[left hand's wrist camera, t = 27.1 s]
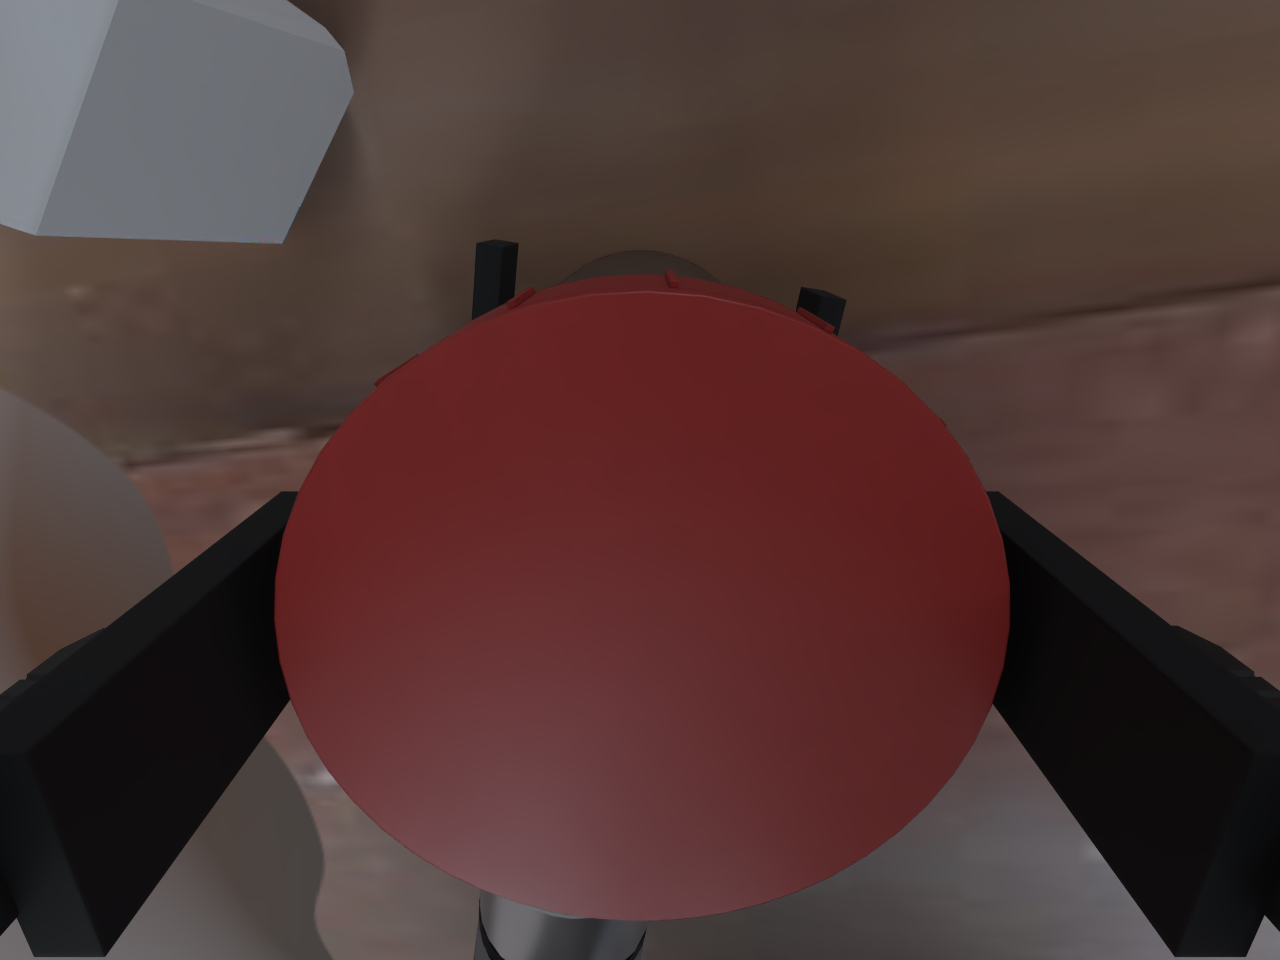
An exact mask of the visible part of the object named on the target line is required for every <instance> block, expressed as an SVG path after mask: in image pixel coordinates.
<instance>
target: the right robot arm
mask: <svg viewBox="0 0 1280 960" xmlns="http://www.w3.org/2000/svg"><path fill="white" fill-rule="evenodd" d="M517 256H518V243H514V242H508V241H501V240H490V241H484V242H479V243H477V245H476V261H475V277H474V293H473V310H472V320H474V319H476V318H478V317H480V316H482V315H484V314H486V313H488V312H490V311H491V310H493V309H495V308H497V307H499V306H501V305H503V304H505V303H506V302H507V301H509V300H510V299H512V298H513V297H514V292H515V280H516V268H517ZM845 303H846V300H845V299H843V298H840V297H838V296H835V295H833V294H831V293H828V292H826V291H824V290H817V289H811V288H804V287H801V290H800V295H799V299H798V304H797V308H796V312H797V310H798V308H799V307H801V308H803V309H805V310H806V311H808V312H810V313H811V314H813V315H815V316H816V317H818V318H820V319H822V320H823V321H825V322H827V323H828V324H830V325H832V326H833V327H835V329H834V330H833V332H832V333H833V334H835V335H836V336H838V332H839V328H840V324H841V320H842V315H843V311H844V307H845ZM647 924H648V921H627V920H609V919H596V918H589V917H582V916H575V915H569V914H562V913H557V912H553V911H549V910H545V909H541V908H537V907H533V906H528V905H524V904H520V903H518V902H515V901H512V900H509V899H506V898H503V897H501V896H498V895H495V894H492V893H489V892H486V891H484V890H481V892H480V900H479V922H478V929H477V937H476V944H475V952H474V960H640V957H641V951H642V946H643V941H644V937H645V933H646V929H647Z"/></svg>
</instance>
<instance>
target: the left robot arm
mask: <svg viewBox="0 0 1280 960" xmlns="http://www.w3.org/2000/svg"><path fill="white" fill-rule="evenodd" d="M986 493H987V495H988V497H989V500H990V503H991V506H992V509H993V512H994V515H995V518H996V521H997V524H998V527H999V530H1000V533H1001V536H1002V539H1003V544H1004V550H1005V557H1006V563H1007V569H1008V575H1009V582H1010V629H1009V636H1008V642H1007V649H1006V655H1005V662H1004V668H1003V671H1002V674H1001V677H1000V681H999V684H998V687H997V690H996V693H995V697H994V700H993V705H994V706H995V707H996V709H997V710H998V712H999V713H1000V714H1001V716H1002V717H1003V719H1004V720H1005V721H1006V723H1007V724H1008V725H1009V727H1010V728H1011V730H1012V731H1013V732H1014V734H1015V735H1016V737H1017V738H1018V739H1019V741H1020V742H1021V744H1022V745H1023V746H1024V748H1025V749H1026V751H1027V752H1028V753H1029V755H1030V756H1031V757H1032V759H1033V760H1034V762H1035V763H1036V764H1037V766H1038V767H1039V769H1040V770H1041V771H1042V773H1043V774H1044V776H1045V777H1046V778H1047V780H1048V781H1049V782H1050V784H1051V785H1052V787H1053V788H1054V789H1055V791H1056V792H1057V794H1058V795H1059V796H1060V798H1061V799H1062V801H1063V802H1064V803H1065V805H1066V806H1067V808H1068V809H1069V810H1070V812H1071V813H1072V814H1073V816H1074V817H1075V819H1076V820H1077V821H1078V823H1079V824H1080V826H1081V827H1082V828H1083V830H1084V831H1085V833H1086V834H1087V835H1088V837H1089V838H1090V840H1091V841H1092V842H1093V844H1094V845H1095V846H1096V848H1097V849H1098V851H1099V852H1100V853H1101V855H1102V856H1103V858H1104V859H1105V860H1106V862H1107V863H1108V865H1109V866H1110V867H1111V869H1112V870H1113V871H1114V873H1115V874H1116V876H1117V877H1118V878H1119V880H1120V881H1121V883H1122V884H1123V885H1124V887H1125V888H1126V890H1127V891H1128V892H1129V894H1130V895H1131V897H1132V898H1133V899H1134V901H1135V902H1136V903H1137V905H1138V906H1139V908H1140V909H1141V910H1142V912H1143V913H1144V915H1145V916H1146V917H1147V919H1148V920H1149V922H1150V923H1151V924H1152V926H1153V927H1154V928H1155V930H1156V931H1157V933H1158V934H1159V935H1160V937H1161V938H1162V940H1163V941H1164V942H1165V944H1166V945H1167V947H1168V948H1169V949H1170V951H1171V952H1172V954H1173V955H1174V956H1175V957H1246V955H1247V953H1248V951H1249V949H1250V946H1251V944H1252V942H1253V940H1254V937H1255V935H1256V933H1257V931H1258V928H1259V926H1260V924H1261V922H1262V920H1263V917H1264V915H1265V916H1266V917H1267V918H1268V919H1269V920H1270V921H1271V922H1272V924H1273V925H1274V926H1275V927H1276V928H1277V929H1278V930H1279V931H1280V691H1279V690H1278V689H1276V688H1275V687H1274V686H1272V685H1271V684H1270V683H1268V682H1267V681H1266V680H1264V679H1263V678H1262V677H1255V676H1254V671H1252V670H1251V669H1250V668H1248V667H1247V666H1246V665H1244V664H1243V663H1242V662H1240V661H1239V660H1238V659H1236V658H1235V657H1234V656H1232V655H1231V654H1229V653H1228V652H1227V651H1225V650H1224V649H1223V648H1221V647H1220V646H1218V645H1216V644H1214V643H1212V642H1210V641H1208V640H1206V639H1204V638H1202V637H1200V636H1198V635H1195V634H1193V633H1191V632H1189V631H1187V630H1185V629H1183V628H1181V627H1179V626H1171V625H1170V624H1168V623H1167V622H1166V621H1164V620H1163V619H1162V618H1161V617H1159V616H1158V615H1157V614H1155V613H1154V612H1153V611H1152V610H1150V609H1149V608H1148V607H1146V606H1145V605H1144V604H1143V603H1141V602H1140V601H1139V600H1137V599H1136V598H1135V597H1134V596H1132V595H1131V594H1130V593H1128V592H1127V591H1126V590H1125V589H1123V588H1122V587H1121V586H1119V585H1118V584H1117V583H1116V582H1114V581H1113V580H1112V579H1110V578H1109V577H1108V576H1107V575H1105V574H1104V573H1103V572H1101V571H1100V570H1099V569H1098V568H1096V567H1095V566H1094V565H1092V564H1091V563H1090V562H1089V561H1087V560H1086V559H1085V558H1083V557H1082V556H1081V555H1079V554H1078V553H1077V552H1076V551H1074V550H1073V549H1072V548H1070V547H1069V546H1068V545H1067V544H1065V543H1064V542H1063V541H1061V540H1060V539H1059V538H1058V537H1056V536H1055V535H1054V534H1052V533H1051V532H1050V531H1049V530H1047V529H1046V528H1045V527H1043V526H1042V525H1041V524H1040V523H1038V522H1037V521H1036V520H1034V519H1033V518H1032V517H1031V516H1029V515H1028V514H1027V513H1025V512H1024V511H1023V510H1022V509H1020V508H1019V507H1018V506H1016V505H1015V504H1014V503H1013V502H1011V501H1010V500H1009V499H1007V498H1006V497H1005V496H1004V495H1002V494H1001V493H1000V492H986ZM297 495H298V492H280V493H279V494H278V495H276V496H275V497H274V498H273V499H271V500H270V501H269V502H267V503H266V504H265V505H264V506H262V507H261V508H260V509H258V510H257V511H256V512H255V513H253V514H252V515H251V516H249V517H248V518H247V519H246V520H244V521H243V522H242V523H240V524H239V525H238V526H237V527H235V528H234V529H233V530H231V531H230V532H229V533H228V534H226V535H225V536H224V537H222V538H221V539H220V540H219V541H217V542H216V543H215V544H213V545H212V546H211V547H210V548H208V549H207V550H206V551H204V552H203V553H202V554H200V555H199V556H198V557H197V558H195V559H194V560H193V561H191V562H190V563H189V564H188V565H186V566H185V567H184V568H182V569H181V570H180V571H179V572H177V573H176V574H175V575H173V576H172V577H171V578H170V579H168V580H167V581H166V582H164V583H163V584H162V585H161V586H159V587H158V588H157V589H155V590H154V591H153V592H152V593H150V594H149V595H148V596H146V597H145V598H144V599H143V600H141V601H140V602H139V603H137V604H136V605H135V606H134V607H132V608H131V609H130V610H128V611H127V612H126V613H125V614H123V615H122V616H121V617H119V618H118V619H117V620H116V621H114V622H113V623H112V624H110V625H109V626H108V627H106V628H103V629H101V630H99V631H97V632H95V633H93V634H91V635H88V636H87V637H85V638H82V639H80V640H78V641H76V642H74V643H72V644H70V645H68V646H66V647H64V648H62V649H60V650H59V651H58V652H56V653H55V654H54V655H52V656H51V657H50V658H48V659H47V660H46V661H44V662H43V663H42V664H40V665H39V666H38V667H36V668H35V669H34V670H32V671H31V672H30V673H28V674H27V678H26V680H19V681H18V682H16V683H15V684H14V685H12V686H11V687H10V688H8V689H7V690H6V691H4V692H3V693H2V694H0V936H1V935H2V933H3V932H4V931H5V930H6V929H7V928H8V927H9V926H10V924H11V923H12V922H13V921H14V920H15V919H16V918H17V920H18V922H19V924H20V926H21V928H22V931H23V933H24V935H25V937H26V940H27V942H28V944H29V946H30V949H31V951H32V953H33V955H34V957H105V956H106V955H107V953H108V952H109V951H110V949H111V948H112V947H113V945H114V944H115V942H116V941H117V940H118V938H119V937H120V935H121V934H122V933H123V931H124V930H125V928H126V927H127V926H128V924H129V923H130V922H131V920H132V919H133V917H134V916H135V915H136V913H137V912H138V910H139V909H140V907H141V906H142V905H143V903H144V902H145V901H146V899H147V898H148V896H149V895H150V894H151V892H152V891H153V890H154V888H155V887H156V885H157V884H158V883H159V881H160V880H161V878H162V877H163V876H164V874H165V873H166V871H167V870H168V869H169V867H170V866H171V864H172V863H173V862H174V860H175V859H176V858H177V856H178V855H179V853H180V852H181V851H182V849H183V848H184V846H185V845H186V844H187V842H188V841H189V839H190V838H191V837H192V835H193V834H194V833H195V831H196V830H197V828H198V827H199V826H200V824H201V823H202V821H203V820H204V819H205V817H206V816H207V814H208V813H209V812H210V810H211V809H212V808H213V806H214V805H215V803H216V802H217V801H218V799H219V798H220V796H221V795H222V794H223V792H224V791H225V789H226V788H227V787H228V785H229V784H230V782H231V781H232V780H233V778H234V777H235V776H236V774H237V773H238V771H239V770H240V769H241V767H242V766H243V764H244V763H245V762H246V760H247V759H248V757H249V756H250V755H251V753H252V752H253V751H254V749H255V748H256V746H257V745H258V744H259V742H260V741H261V739H262V738H263V737H264V735H265V734H266V732H267V731H268V730H269V728H270V727H271V725H272V724H273V723H274V721H275V720H276V719H277V717H278V716H279V714H280V713H281V712H282V710H283V709H284V707H285V706H286V705H287V703H288V702H289V700H290V697H289V693H288V690H287V686H286V683H285V679H284V675H283V672H282V668H281V665H280V661H279V654H278V646H277V638H276V631H275V623H274V608H275V577H276V571H277V566H278V560H279V555H280V550H281V544H282V539H283V534H284V531H285V528H286V525H287V523H288V520H289V517H290V514H291V511H292V509H293V506H294V503H295V500H296V497H297Z"/></svg>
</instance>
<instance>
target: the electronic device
mask: <svg viewBox="0 0 1280 960" xmlns="http://www.w3.org/2000/svg"><path fill="white" fill-rule="evenodd" d="M353 94H354V91H353V86H352V82H351V77H350V73H349V69H348V64H347V60H346V55H345V51H344V50H343V49H342V48H341V46H340V45H339V44H338V43H337V41H336V40H335V39H334V38H333V37H332V35H331V34H330V33H329V32H328V31H327V29H326V28H325V27H324V26H322V25H321V24H319V23H318V22H317V21H315V20H314V19H312V18H311V17H310V16H308V15H307V14H305V13H304V12H303V11H301V10H300V9H298V8H297V7H296V6H294V5H293V4H291V3H290V2H289V1H287V0H0V224H2V225H5V226H8V227H11V228H14V229H17V230H20V231H23V232H26V233H30V234H33V235H36V236H64V237H94V238H124V239H154V240H184V241H214V242H245V243H275V244H283V242H284V240H285V238H286V236H287V234H288V232H289V229H290V227H291V225H292V223H293V221H294V219H295V217H296V215H297V212H298V210H299V208H300V206H301V204H302V202H303V200H304V198H305V196H306V193H307V191H308V189H309V187H310V185H311V183H312V181H313V179H314V177H315V174H316V172H317V170H318V168H319V166H320V164H321V162H322V160H323V157H324V155H325V153H326V151H327V149H328V147H329V145H330V143H331V141H332V138H333V136H334V134H335V132H336V130H337V128H338V126H339V124H340V121H341V119H342V117H343V115H344V113H345V111H346V109H347V107H348V105H349V102H350V100H351V98H352V96H353Z"/></svg>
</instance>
